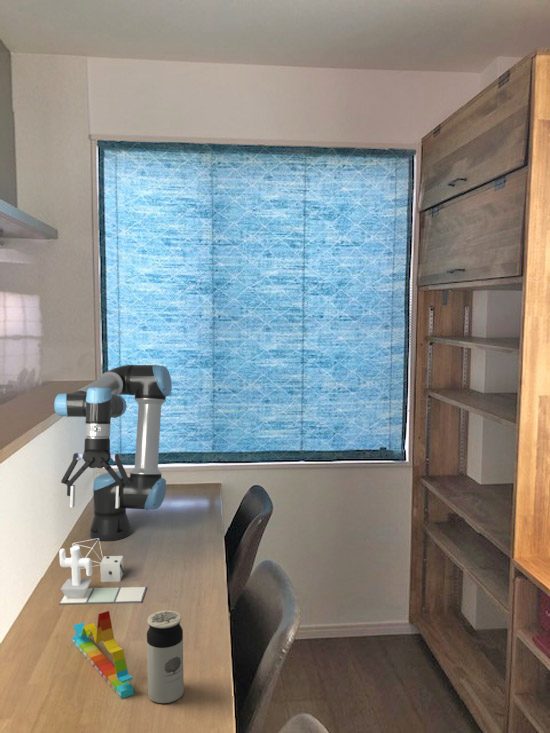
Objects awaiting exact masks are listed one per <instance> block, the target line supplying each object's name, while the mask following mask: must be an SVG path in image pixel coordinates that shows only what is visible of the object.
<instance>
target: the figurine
mask: <svg viewBox="0 0 550 733" xmlns="http://www.w3.org/2000/svg"><path fill="white" fill-rule="evenodd" d="M69 550H70V557H67V556H66V549H65V548H60V549H59V552H58V553H59V557H58V558H59V565H60V567H61V568H71V578H70V577H69V578H67V580H66V581H65V582H64V584H63V585H62V586H61V587H60V590H61V592H62V593H63V596H64V595H65V596H66V597H67V599H82V598H83V596H84V595H85V593H86V591H87V589H88V588H90V587H89V586H90V584H91V582H92V580H93V578H83V577H82V574H81V570H82V568H84V569H85V572H86V576H87V577H91V576H92V575H93V567H92V566H93V560H92V558H90V557H86V558H85V557H82V556H81V555H82V554H81V546H79V544H78V545H75V544H74V546H72V547H70V548H69ZM80 554H81V555H80Z"/></svg>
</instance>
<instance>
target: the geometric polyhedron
mask: <svg viewBox="0 0 550 733" xmlns="http://www.w3.org/2000/svg"><path fill="white" fill-rule="evenodd" d="M97 539H99V538H97ZM93 540H95V539H92V538H90V539H88V540H83V541H77V542H72V544H71V546H72V547H73V546H75V545H78V546H79V547H84V548H87V549H88V548H89V551H88V552H87V554H86V556H85V557H84V556H83V555H82V554H80V557H81V558H88V556H89V555H90V552H92V550H93V552H94V553H95V554H96V556H97V558H98V559H99V560H100V561H101V562H102V560H103V558H104V556H103V552H102V547H101V541H99V540H95V543H94V544H93V546H92V547H89V546H86V545H82V544H78V543H83V542H88V541H93ZM97 542H98V543H99V548H100V552H101V558H102V559H101V558H100V556H99V555H98V553H97V552H96V550H94V547H95V546H96V544H97ZM93 562H94V563H97V564H96V565H92V568H93V567H97V566H98V567H99V564H100V562H99V561H95V560H92V563H93ZM83 569H85V567H81V570H83Z"/></svg>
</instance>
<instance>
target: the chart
mask: <svg viewBox="0 0 550 733" xmlns="http://www.w3.org/2000/svg"><path fill="white" fill-rule="evenodd" d="M72 627H73V629H74V631H75V635H72V643H73V644H74V645H75V647H76V648H77V649H78V650H79V651H80V653H81V654H82V655H83V657H85V659H86V660H87V661H88V662H89V663H90V664H91V666H93V667H94V669H95V670H96V672H98V674H99V675H100V676H101V677H102V679H104V681H105V682H106V683H107V684H108V686H110V688H111V689H112V690H113V691H114V693H115V694H116V695H117V696H118V697H119V698H120V700H122V699H125V698H127V697H129V696H132V695H134V686H133V685H132V684H131V683H130V682H129V681H131V680H133V679H134V676H132V675H131V674H129V672H128V671H129V670H128V665H127V661H126V657H125V652H124V651H125V650H124V648H122V647H121V646H119V644H118V643H117V641H116V639H115V637H114V630H113V625H112V620H111V615H110V610H107V611H103V612H100V613H98V618H97V626H96V625H95V622H92V623H89V624H88V623H87V624H85V623H84V622H80V623H77V624H74V625H73V626H72ZM92 636H93V639H94V642H95V644H97V643H100V642H103V644H104V647H105V648H106V650H107V652H108V653H110V654H111V655H112V658H113V663H112V662H111V661H110V660H109V659H108V658H107V657H106V655H105V654H104V653H103V652H102V651H101V650H100V649H99V648H98V647H97V646H96V645H95V644H94V642H93V641H92V640H91V639H90V637H92ZM113 664H114V665H113Z"/></svg>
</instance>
